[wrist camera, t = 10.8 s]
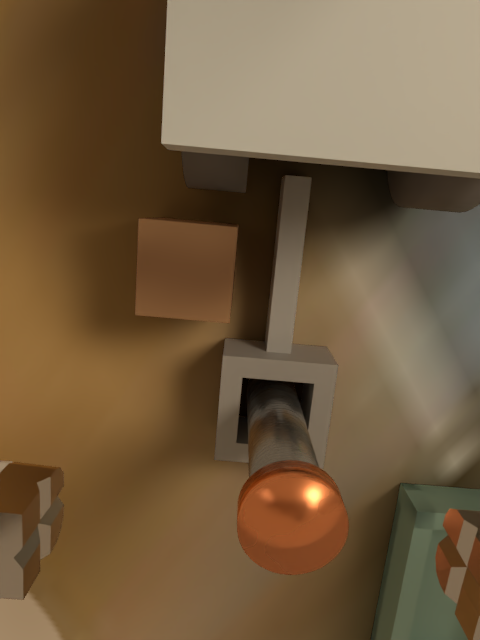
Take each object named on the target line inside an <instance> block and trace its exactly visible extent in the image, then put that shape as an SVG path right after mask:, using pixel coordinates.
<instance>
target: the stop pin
mask: <svg viewBox="0 0 480 640" xmlns="http://www.w3.org/2000/svg"><path fill="white" fill-rule="evenodd" d="M247 416H248V457H249V479H248V480H247V481H246V483H245V484H244V485H243V487H242V489H241V492H240V495H239V498H238V513H237V532H238V538H239V541H240V544H241V546H242V548H243V550H244V551H245V553H246V554H247V555H248V556H249V558H250V559H251V560H253V561H254V562H255V563H256V564H258V565H259V566H261V567H263V568H265V569H266V570H269V571H272V572H275V573H279V574H286V575H297V574H304V573H309V572H312V571H315V570H317V569H319V568H321V567H323V566H325V565H326V564H328V563H329V562H330V561H332V560H333V559H334V558H335V557H336V556H337V555H338V553H339V552H340V551H341V549H342V548H343V546H344V544H345V542H346V539H347V535H348V529H349V521H348V515H347V512H346V509H345V506H344V503H343V500H342V497H341V495H340V492H339V489H338V487H337V485H336V483H335V482H334V480H333V479H332V478H331V477H330V476H329V475H328V474H327V473H326V472H325V471H323V470H322V469H321V468H319V465H318V462H317V458H316V455H315V452H314V448H313V445H312V442H311V439H310V435H309V432H308V429H307V425H306V422H305V419H304V415H303V412H302V409H301V406H300V402H299V399H298V396H297V392H296V389H295V386H294V383H293V382H289V381H277V380H265V379H253V378H250V380H249V382H248V385H247Z"/></svg>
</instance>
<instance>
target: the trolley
mask: <svg viewBox="0 0 480 640" xmlns="http://www.w3.org/2000/svg"><path fill="white" fill-rule="evenodd" d="M161 144H162V145H164V146H165V147H166V148H167V149H168V150H175V151H182V164H183V173H184V179H185V183H186V186H187V187H188V188H196V189H207V190H218V191H229V192H240V193H246V186H247V175H248V165H249V157H251V158H262V159H273V160H284V161H294V162H305V163H316V164H327V165H338V166H348V167H359V168H370V169H381V170H387V179H388V186H389V191H390V195H391V197H392V199H393V201H394V203H395V204H396V205H397V206H399V207H405V208H416V209H427V210H438V211H449V212H466V211H468V210H471V209H473V208H474V207H476V206H477V205H479V204H480V0H167V23H166V45H165V68H164V91H163V113H162V136H161ZM311 181H312V177H301V176H290V175H285V176H284V177H283V178H282V181H281V191H280V200H279V210H278V220H277V229H276V239H275V248H274V258H273V267H272V277H271V286H270V296H269V306H268V315H267V325H266V334H265V341H254V340H242V339H231V338H225V344H224V351H223V360H222V372H221V384H220V396H219V408H218V420H217V432H216V444H215V457H214V460H222V461H234V462H246V463H249V457H248V417H243V416H239V408H240V398H241V387H242V378H253V379H265V380H277V381H289V382H300V383H303V387H302V395H301V403H300V406H301V409H302V412H303V415H304V419H305V422H306V425H307V429H308V432H309V435H310V439H311V442H312V445H313V448H314V452H315V455H316V458H317V462H318V465H319V468H321V469H323V467H324V460H325V454H326V447H327V440H328V433H329V426H330V419H331V413H332V406H333V399H334V392H335V385H336V378H337V372H338V364H337V362H336V361H335V359H334V358H333V356H332V354H331V353H330V351H329V350H328V348H327V347H324V346H312V345H301V344H292V340H293V332H294V323H295V315H296V306H297V298H298V290H299V281H300V273H301V265H302V256H303V248H304V240H305V231H306V223H307V214H308V206H309V198H310V189H311Z"/></svg>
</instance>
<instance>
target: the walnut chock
mask: <svg viewBox="0 0 480 640" xmlns="http://www.w3.org/2000/svg"><path fill="white" fill-rule="evenodd" d="M238 227H239V225H238V224H227V223H216V222H205V221H194V220H183V219H172V218H160V217H156V218H138V246H137V275H136V303H135V315H140V316H152V317H163V318H175V319H186V320H198V321H209V322H220V323H230V315H231V307H232V297H233V285H234V274H235V262H236V250H237V239H238Z"/></svg>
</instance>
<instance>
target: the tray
mask: <svg viewBox="0 0 480 640" xmlns="http://www.w3.org/2000/svg"><path fill="white" fill-rule="evenodd" d="M449 509H461V510H472V511H480V489H468V488H455V487H443V486H431V485H418V484H406V483H401V484H400V489H399V495H398V500H397V505H396V510H395V515H394V520H393V526H392V531H391V536H390V541H389V546H388V552H387V557H386V562H385V567H384V572H383V578H382V583H381V588H380V593H379V598H378V603H377V609H376V614H375V619H374V624H373V629H372V635H371V640H468V639H467V637H466V635H465V633H464V631H463V629H462V627H461V625H460V623H459V621H458V619H457V617H456V615H455V610H456V606H457V604H456V603H455V602H454V601H453V600H451V599H450V598H449V597H448V596H447V595H445V594H444V592H443V590H442V588H441V586H440V583H439V580H438V577H437V573H436V562H435V556H436V551H437V546H438V543H439V542H440V541H442V540H443V539H444V538H445V537H446V536H447V533H446V531H445V529H444V527H443V522H444V518H445V515H446V513H447V512H448V510H449Z"/></svg>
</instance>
